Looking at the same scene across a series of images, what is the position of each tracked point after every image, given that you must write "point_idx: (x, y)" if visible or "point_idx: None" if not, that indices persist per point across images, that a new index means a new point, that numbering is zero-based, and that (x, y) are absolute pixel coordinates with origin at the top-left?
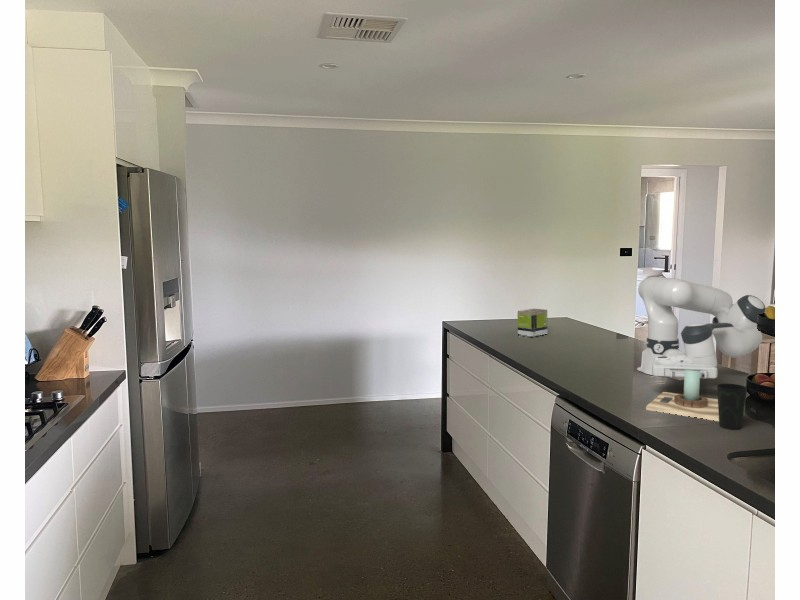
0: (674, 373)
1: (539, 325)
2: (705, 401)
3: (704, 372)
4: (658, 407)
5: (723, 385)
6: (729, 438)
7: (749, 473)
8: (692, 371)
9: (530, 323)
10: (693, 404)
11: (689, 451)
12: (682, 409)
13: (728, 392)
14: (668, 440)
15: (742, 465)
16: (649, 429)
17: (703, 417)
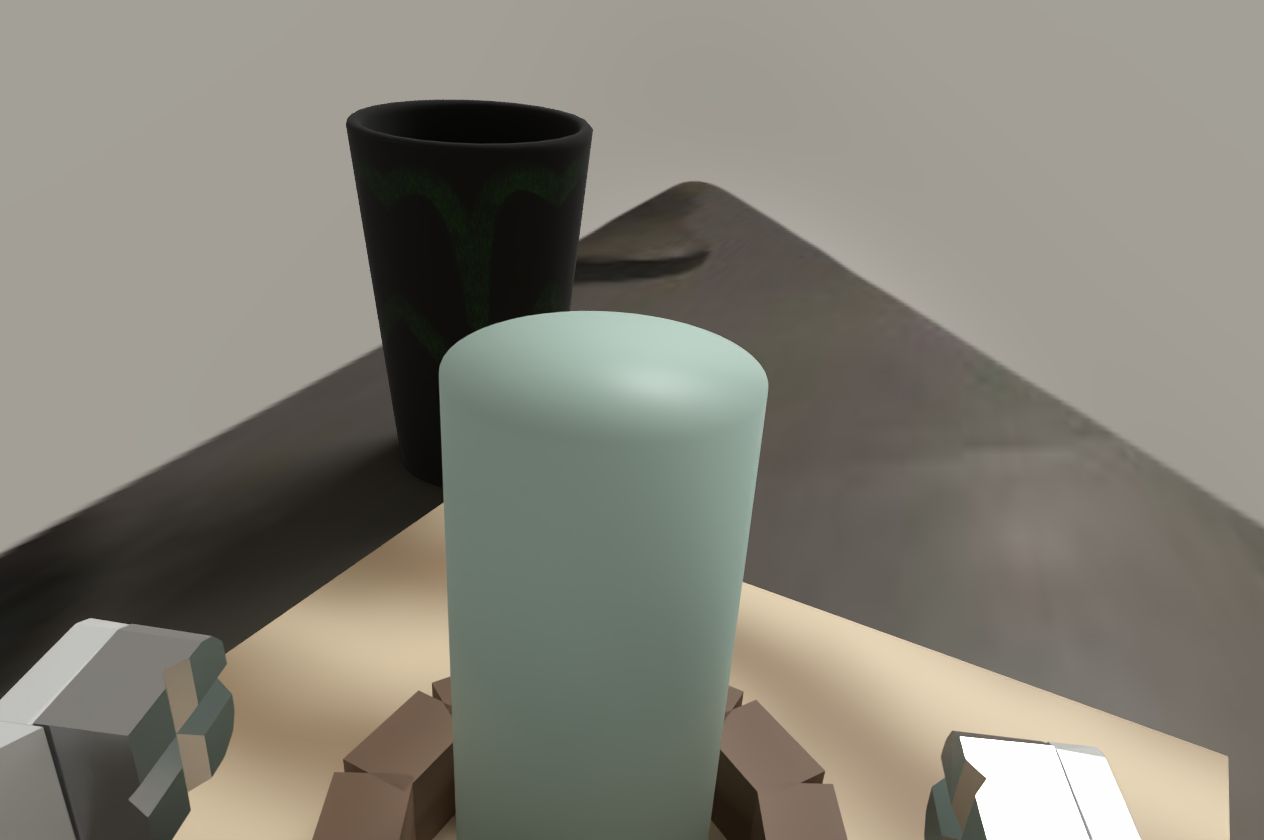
0: (967, 744)
1: None
2: (443, 680)
3: (24, 701)
4: (1062, 717)
5: (494, 159)
6: None
7: (679, 213)
8: (628, 339)
9: None
10: None
11: (844, 282)
12: (776, 665)
13: (544, 137)
14: (931, 337)
15: (676, 233)
16: (1051, 420)
17: None
